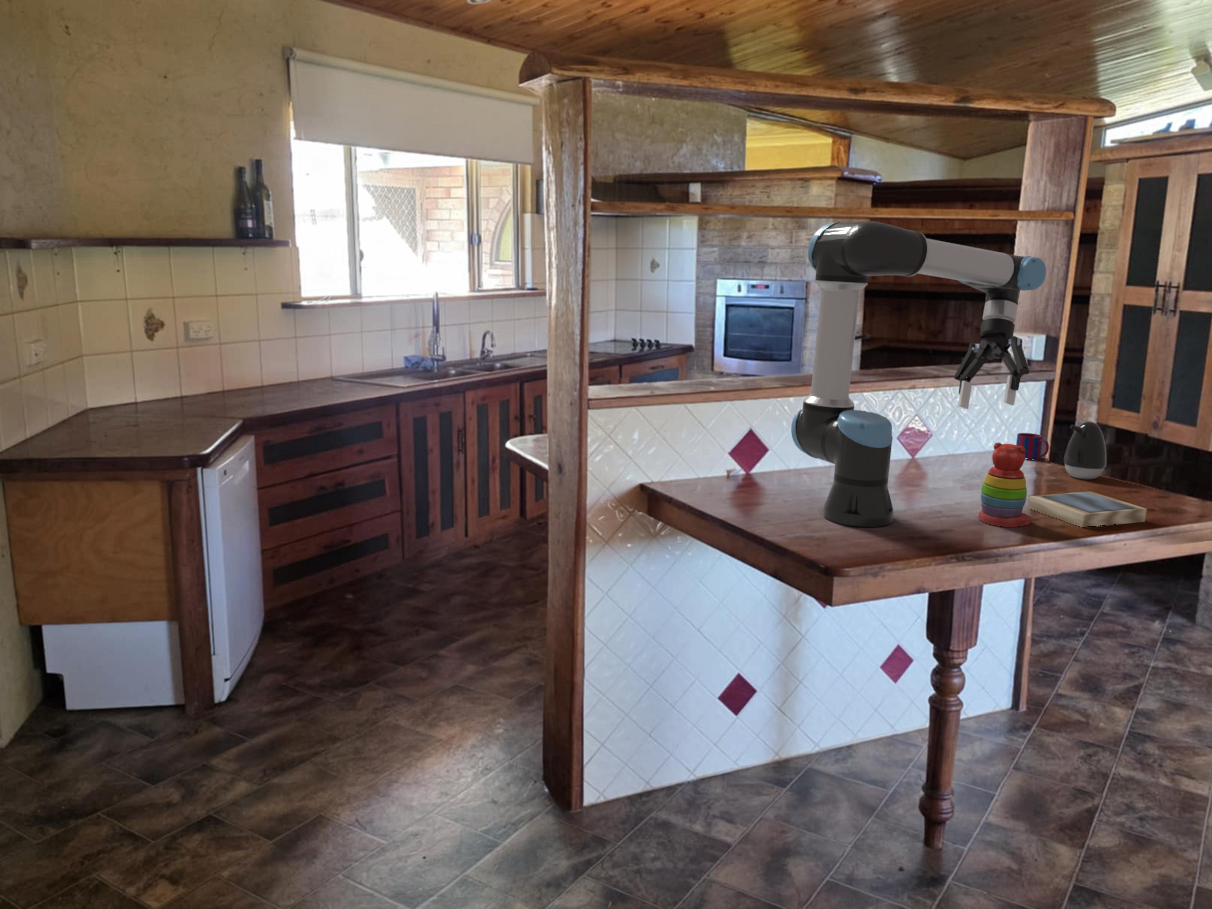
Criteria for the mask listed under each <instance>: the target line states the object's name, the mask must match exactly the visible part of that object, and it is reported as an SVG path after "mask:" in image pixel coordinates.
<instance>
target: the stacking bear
mask: <svg viewBox="0 0 1212 909" xmlns="http://www.w3.org/2000/svg"><path fill="white" fill-rule="evenodd" d="M993 449H994V450H993V451H992V455H991V459H992V464H993V466H992V467H991V468H990V469H989V470H988V472H987V473H986V475H985V477H984V480H983V482H982V485H981V489H980V490H981V491H980V500H981V510H979V513H978V519H979V521H980V520H981V521H980V522H982V523H984V524H986V523H987V525H989V524H991V525H990V526H993V525H996V526H995V527H1000V526H1003V527H1002V528H1017V527H1018V526H1020V527H1023V526H1024V525H1025V526H1028V525H1030V524H1031V523H1032V516H1030V515H1029V514H1027V513H1025V512H1023V509H1024V507H1025V505H1026V502H1027V501H1026V500H1027V496H1028V489H1027V481H1026V480H1027V479H1026V477H1025V473H1024V472H1023V470H1021V468H1022V466H1023V465H1024V463H1025V461H1026V460H1025V454H1024V453H1025V448H1024V447H1023V446H1017V445H1016V444H1012V443H1001V442H998V441H997V442H995V443H994V444H993ZM1018 528H1019V527H1018Z"/></svg>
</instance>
